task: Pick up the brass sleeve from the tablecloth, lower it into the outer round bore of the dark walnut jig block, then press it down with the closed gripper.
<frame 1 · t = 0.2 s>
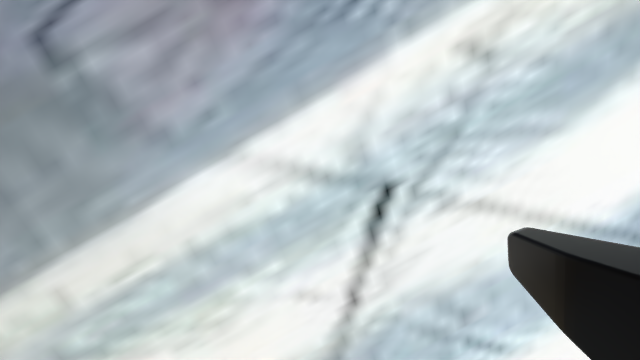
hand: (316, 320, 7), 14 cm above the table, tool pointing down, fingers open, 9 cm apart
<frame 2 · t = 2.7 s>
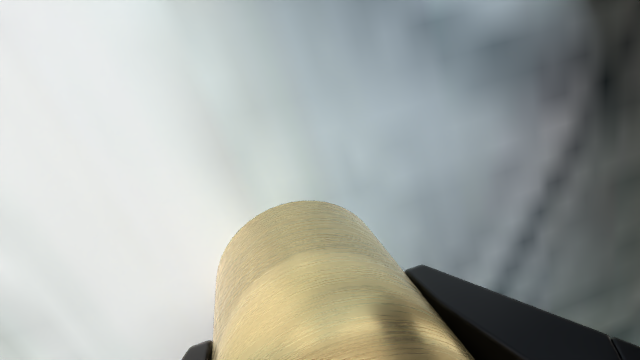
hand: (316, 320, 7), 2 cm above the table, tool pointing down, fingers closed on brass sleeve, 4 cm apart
brass sleeve: (302, 277, 9), on the table, touching gripper
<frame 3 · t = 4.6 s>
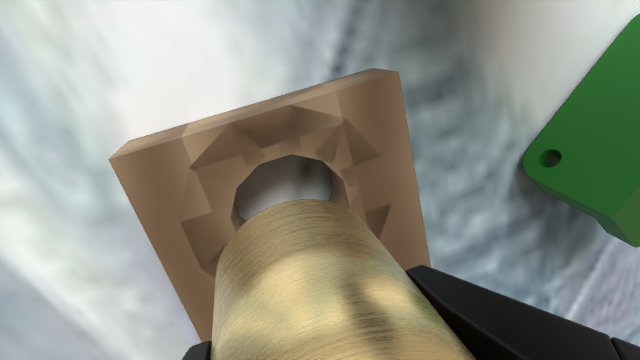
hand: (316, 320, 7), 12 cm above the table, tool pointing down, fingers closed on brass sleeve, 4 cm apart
clamp: (597, 120, 23), on the table
walnut jig: (304, 254, 21), on the table
brass sleeve: (301, 276, 9), point 10 cm above the table, touching gripper
when the fingers open (4 cm above the table, at t = 6.9 s): brass sleeve drops 3 cm, resting in walnut jig.
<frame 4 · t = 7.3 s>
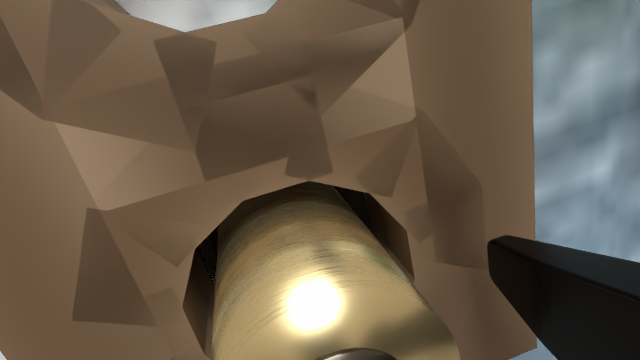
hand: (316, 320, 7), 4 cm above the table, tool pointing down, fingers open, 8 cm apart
walnut jig: (246, 97, 10), on the table
brass sleeve: (286, 232, 11), resting in walnut jig
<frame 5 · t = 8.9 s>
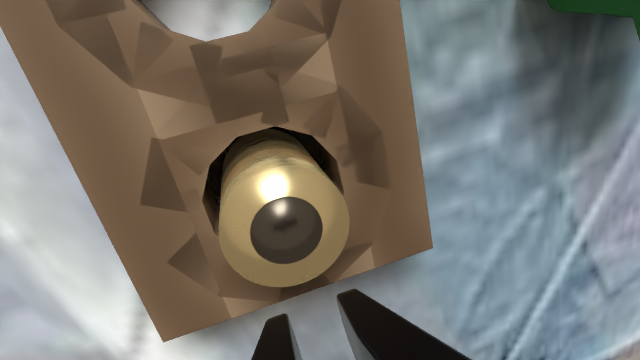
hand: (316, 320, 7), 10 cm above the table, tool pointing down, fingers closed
walnut jig: (240, 80, 15), on the table
brass sleeve: (267, 172, 17), resting in walnut jig
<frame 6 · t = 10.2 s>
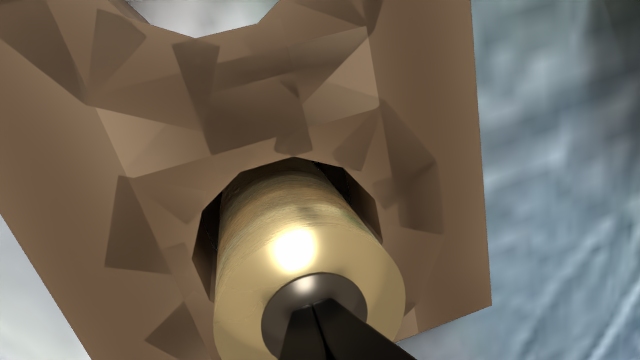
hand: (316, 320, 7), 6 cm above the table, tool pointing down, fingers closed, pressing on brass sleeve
walnut jig: (243, 90, 11), on the table
brass sleeve: (278, 207, 13), resting in walnut jig, touching gripper
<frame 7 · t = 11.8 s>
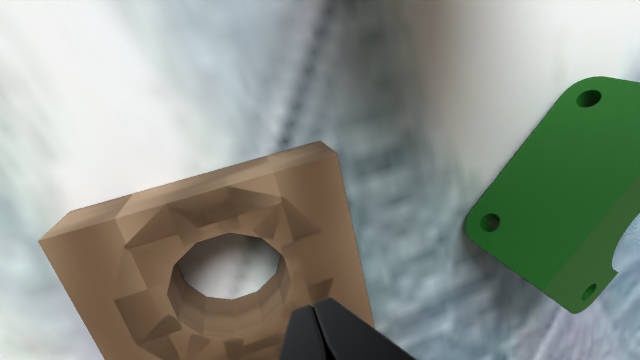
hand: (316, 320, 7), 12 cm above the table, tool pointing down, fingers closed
clamp: (540, 181, 23), on the table
walnut jig: (253, 318, 20), on the table
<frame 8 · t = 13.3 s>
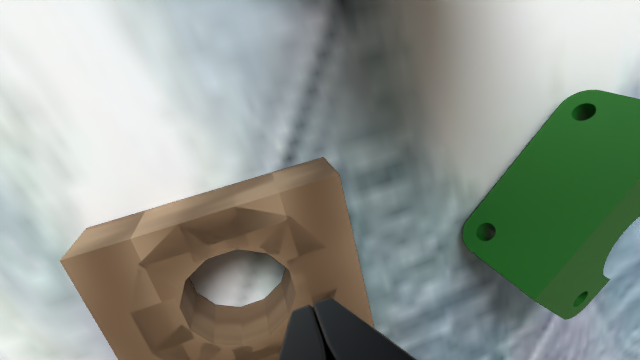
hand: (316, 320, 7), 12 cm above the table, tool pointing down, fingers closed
clamp: (537, 189, 24), on the table
walnut jig: (260, 324, 21), on the table
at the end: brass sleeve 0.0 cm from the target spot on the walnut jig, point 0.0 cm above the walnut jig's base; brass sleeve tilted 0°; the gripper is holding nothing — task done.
